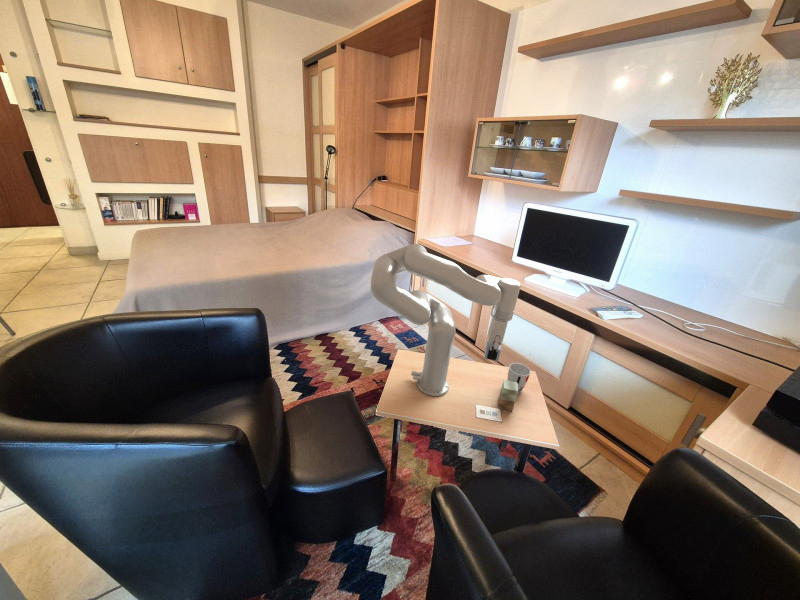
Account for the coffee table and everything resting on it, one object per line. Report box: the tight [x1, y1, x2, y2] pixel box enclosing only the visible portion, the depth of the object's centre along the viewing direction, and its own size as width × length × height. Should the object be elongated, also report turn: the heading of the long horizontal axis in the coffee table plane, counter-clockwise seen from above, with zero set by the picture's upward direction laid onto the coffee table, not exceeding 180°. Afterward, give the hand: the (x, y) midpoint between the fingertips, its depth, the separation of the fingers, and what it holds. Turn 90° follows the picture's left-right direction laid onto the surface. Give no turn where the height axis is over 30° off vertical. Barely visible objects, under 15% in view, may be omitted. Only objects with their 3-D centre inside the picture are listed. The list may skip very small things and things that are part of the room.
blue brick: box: [483, 340, 502, 362], centre depth 124 cm, size 5×5×5 cm
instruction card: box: [475, 404, 503, 423], centre depth 120 cm, size 9×6×1 cm
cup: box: [507, 362, 532, 394], centre depth 132 cm, size 8×8×10 cm
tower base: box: [497, 379, 519, 413], centre depth 122 cm, size 5×5×10 cm
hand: (491, 354), depth 125 cm, fingers closed on blue brick, 5 cm apart
